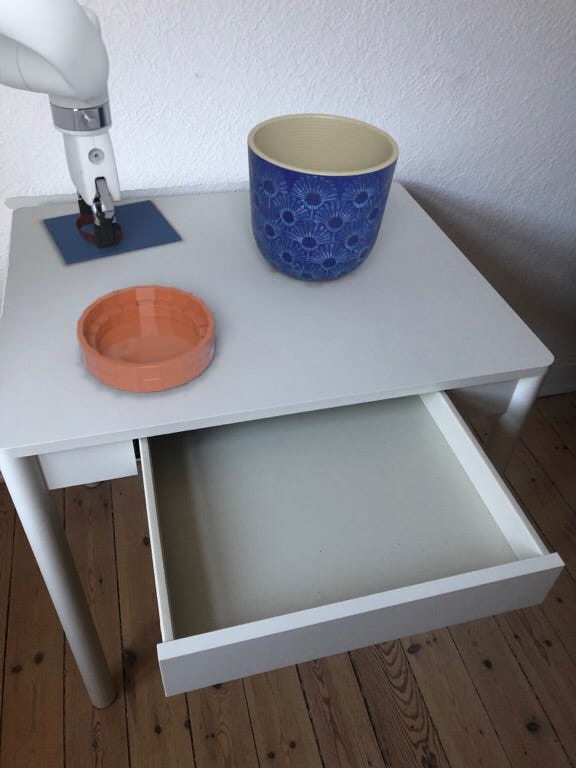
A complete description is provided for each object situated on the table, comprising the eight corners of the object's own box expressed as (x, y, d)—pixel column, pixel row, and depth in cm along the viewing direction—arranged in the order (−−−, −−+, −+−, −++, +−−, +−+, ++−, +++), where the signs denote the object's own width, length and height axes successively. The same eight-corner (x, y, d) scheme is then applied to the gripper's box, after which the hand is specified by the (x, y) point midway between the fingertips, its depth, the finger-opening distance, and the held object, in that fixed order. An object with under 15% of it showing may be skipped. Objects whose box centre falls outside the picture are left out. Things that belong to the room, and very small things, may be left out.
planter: (290, 216, 109) (298, 102, 96) (399, 256, 102) (423, 137, 89) (218, 268, 96) (216, 143, 83) (336, 317, 89) (355, 189, 76)
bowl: (106, 412, 73) (100, 383, 70) (67, 331, 83) (61, 303, 80) (235, 371, 79) (236, 343, 76) (185, 301, 89) (183, 274, 86)
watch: (131, 238, 97) (128, 216, 94) (111, 251, 94) (108, 229, 91) (89, 224, 99) (86, 203, 97) (69, 237, 96) (65, 215, 93)
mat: (67, 264, 94) (66, 262, 94) (43, 221, 103) (43, 219, 103) (180, 240, 101) (180, 237, 101) (150, 202, 110) (149, 199, 110)
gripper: (131, 134, 80) (143, 257, 92) (90, 89, 91) (106, 204, 103) (71, 142, 77) (92, 268, 89) (36, 95, 88) (59, 213, 100)
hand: (99, 233), depth 96 cm, fingers closed on watch, 6 cm apart
